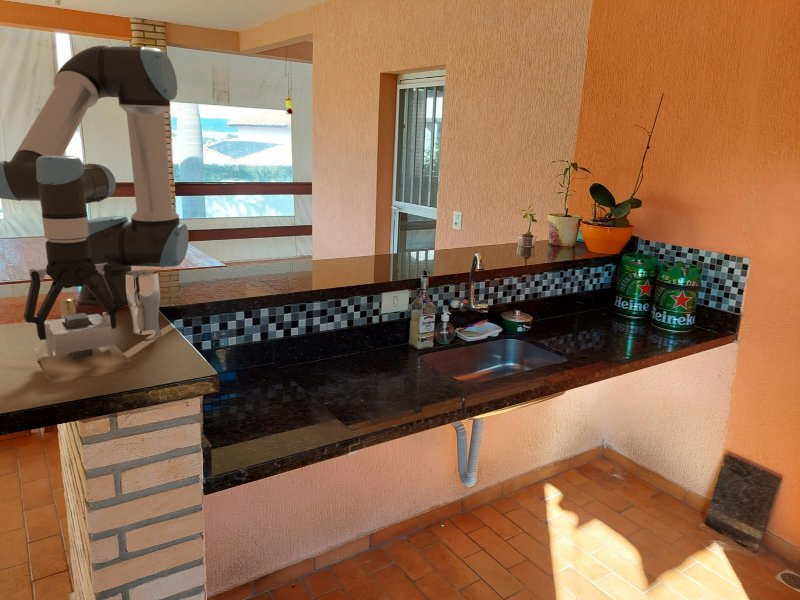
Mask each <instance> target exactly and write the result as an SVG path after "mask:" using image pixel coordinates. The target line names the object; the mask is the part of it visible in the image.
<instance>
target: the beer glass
mask: <svg viewBox="0 0 800 600" xmlns="http://www.w3.org/2000/svg"><path fill="white" fill-rule="evenodd" d="M159 280H160V279H159V273H158V270H154V269H136V270H132V271H129V272H127V273H126V295H127V301H128V305H127V306H128V308H129V311H130V315H131V319H132V334H135V335H139V336H141V335H143V336H145V335H148V336H147V337H145V338H144V339H142V340H141V342H146V341H154V340H157V339H160V337H162V332H161V328H160V325H159V312H160V304H161V287H160V281H159Z"/></svg>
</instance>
